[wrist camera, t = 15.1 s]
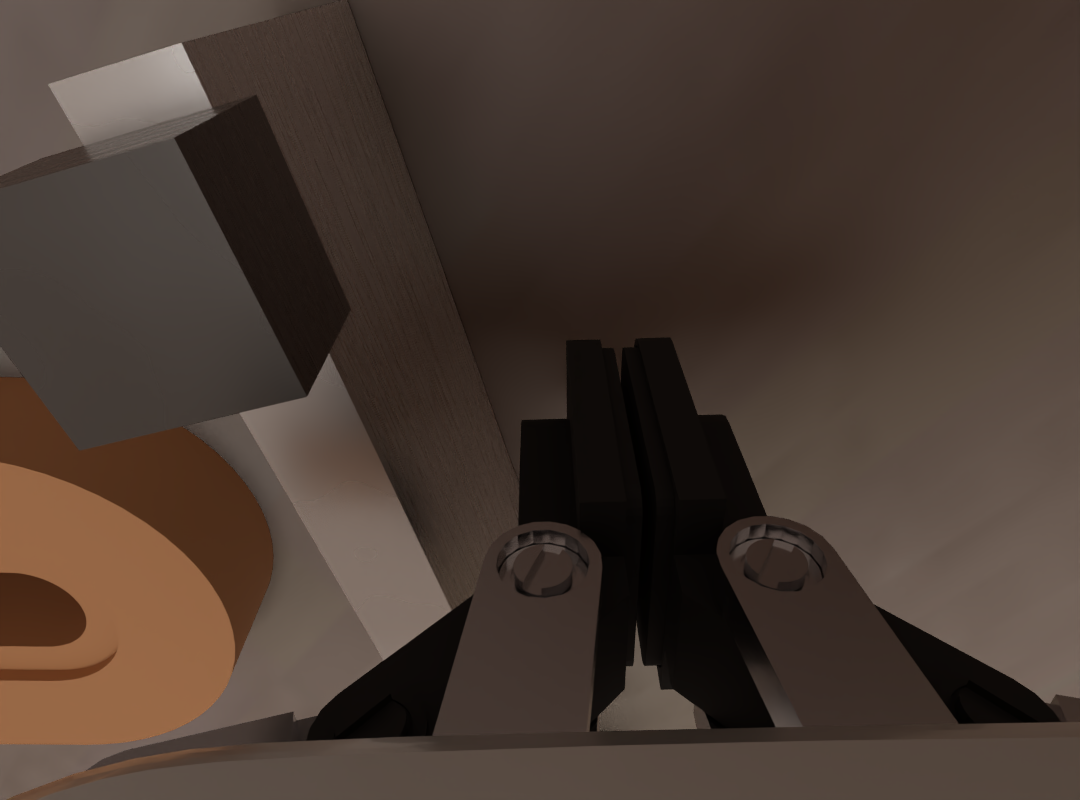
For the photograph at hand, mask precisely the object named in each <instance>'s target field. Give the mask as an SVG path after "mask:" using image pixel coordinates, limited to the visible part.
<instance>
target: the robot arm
mask: <svg viewBox="0 0 1080 800" xmlns="http://www.w3.org/2000/svg"><path fill="white" fill-rule="evenodd" d="M566 365H567V419H542V420H522V422H521V448H520V481H519V513H518V526H516V527H514V528H512V529H511V530H509V531H507V532H505V533H503V534H501V535H500V536H499V537H498V538H497V539H496V540H495V541H494V542H493V543H492V544H491V545H490V547H489V549H488V551H487V553H486V555H485V557H484V561H483V564H482V567H481V571H480V574H479V578H478V581H477V585H476V588H475V591H474V594H473V595H472V596H471V597H469V598H468V599H467V600H465V601H464V602H462V603H461V604H460V605H458V606H457V607H456V608H454V609H453V610H452V611H450V612H449V613H448V614H446V615H445V616H443V617H442V618H441V619H439V620H438V621H437V622H435V623H434V624H433V625H431V626H430V627H429V628H427V629H426V630H424V631H423V632H422V633H420V634H419V635H418V636H416V637H415V638H414V639H412V640H411V641H410V642H408V643H407V644H405V645H404V646H403V647H401V648H400V649H399V650H397V651H396V652H395V653H393V654H392V655H391V656H389V657H388V658H386V659H385V660H384V661H382V662H381V663H380V664H378V665H377V666H376V667H374V668H373V669H372V670H370V671H369V672H367V673H366V674H365V675H363V676H362V677H361V678H359V679H358V680H357V681H355V682H354V683H353V684H351V685H350V686H348V687H347V688H346V689H344V690H343V691H342V692H340V693H339V694H338V695H337V696H335V697H334V698H333V699H332V700H331V701H330V702H329V703H328V704H327V705H326V706H325V707H324V708H323V709H322V710H321V711H320V713H319V714H318V716H314V717H310V718H306V719H302V720H296V717H295V715H294V712H290V713H286V714H281V715H277V716H273V717H268V718H264V719H260V720H255V721H251V722H247V723H242V724H238V725H234V726H229V727H225V728H221V729H216V730H212V731H208V732H203V733H199V734H195V735H190V736H186V737H182V738H177V739H173V740H169V741H164V742H160V743H156V744H151V745H147V746H143V747H138V748H134V749H130V750H126V751H123V752H120V753H118V754H115V755H113V756H110V757H107V758H105V759H102V760H101V761H99V762H98V763H96V764H95V765H93V766H92V767H90V768H89V769H88V770H86V771H84V772H80V773H76V774H73V775H70V776H67V777H65V778H62V779H59V780H57V781H54V782H51V783H48V784H46V785H43V786H40V787H38V788H35V789H32V790H29V791H27V792H24V793H21V794H19V795H16V796H13V797H11V798H9V799H7V800H1080V698H1074V697H1068V696H1062V695H1055V697H1054V698H1053V700H1052V702H1051V704H1049V703H1045V702H1044V701H1042V700H1041V699H1040V698H1039V697H1038V696H1037V695H1036V694H1035V693H1034V692H1032V691H1031V690H1029V689H1028V688H1026V687H1024V686H1023V685H1021V684H1020V683H1018V682H1017V681H1015V680H1014V679H1012V678H1010V677H1008V676H1006V675H1005V674H1003V673H1001V672H999V671H997V670H995V669H993V668H992V667H990V666H988V665H986V664H984V663H982V662H980V661H978V660H977V659H975V658H973V657H971V656H969V655H967V654H965V653H964V652H962V651H960V650H958V649H956V648H954V647H952V646H951V645H949V644H947V643H945V642H943V641H941V640H939V639H937V638H936V637H934V636H932V635H930V634H928V633H926V632H924V631H923V630H921V629H919V628H917V627H915V626H913V625H911V624H909V623H908V622H906V621H904V620H902V619H900V618H898V617H896V616H895V615H893V614H891V613H889V612H887V611H885V610H883V609H882V608H880V607H878V606H876V605H874V604H873V603H872V601H871V600H870V598H869V597H868V596H867V594H866V593H865V591H864V590H863V589H862V587H861V586H860V584H859V583H858V582H857V580H856V579H855V577H854V576H853V575H852V573H851V572H850V570H849V569H848V568H847V566H846V565H845V563H844V562H843V561H842V559H841V558H840V556H839V555H838V554H837V552H836V551H835V549H834V548H833V547H832V546H831V545H830V544H829V543H828V542H827V541H826V540H825V539H824V537H823V536H821V535H820V534H818V533H817V532H815V531H814V530H812V529H810V528H809V527H807V526H805V525H802V524H800V523H797V522H795V521H792V520H790V519H784V518H779V517H773V516H767V515H766V513H765V510H764V508H763V505H762V503H761V500H760V498H759V495H758V493H757V490H756V488H755V485H754V483H753V481H752V478H751V476H750V473H749V471H748V468H747V466H746V463H745V461H744V458H743V456H742V453H741V451H740V449H739V446H738V444H737V441H736V439H735V436H734V434H733V431H732V429H731V426H730V424H729V422H728V420H727V418H726V416H724V415H698V414H697V411H696V409H695V406H694V403H693V400H692V397H691V394H690V391H689V388H688V385H687V383H686V380H685V377H684V374H683V371H682V368H681V365H680V362H679V360H678V357H677V354H676V351H675V348H674V345H673V342H672V340H671V338H638V339H636V340H635V345H634V347H630V348H623V350H622V366H621V383H620V378H619V372H618V367H617V362H616V357H615V352H614V348H602V347H601V341H600V340H568V341H567V342H566ZM636 621H637V628H638V635H639V641H640V648H641V655H642V661H643V664H644V666H651V665H657V670H658V676H659V682H660V688H661V690H664V689H674V690H675V691H677V692H678V693H679V694H681V695H682V696H684V697H685V698H686V699H688V700H689V701H690V702H692V703H693V704H694V718H695V723H696V727H697V729H682V730H639V731H598V727H599V714H600V713H601V712H602V711H603V710H604V709H605V708H606V707H607V706H608V705H609V704H610V703H611V702H612V701H613V700H614V699H615V698H616V697H617V696H618V695H619V694H620V693H621V692H622V691H623V690H624V689H625V671H626V666H633V662H634V648H635V632H636Z"/></svg>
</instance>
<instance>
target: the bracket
mask: <svg viewBox="0 0 1080 800" xmlns="http://www.w3.org/2000/svg"><path fill="white" fill-rule="evenodd" d="M272 570H273V546H272V540H271V535H270V531H269V527H268V525H267V522H266V519H265V517H264V514H263V512H262V510H261V508H260V506H259V504H258V503H257V501H256V499H255V497H254V496H253V494H252V493H251V491H250V490H249V488H248V487H247V485H246V484H245V483H244V481H243V480H242V479H241V478H240V477H239V475H238V474H237V473H236V472H235V471H234V469H233V468H232V467H231V466H230V465H229V464H228V463H227V462H226V461H225V460H224V459H223V458H222V457H221V456H220V455H219V454H218V453H216V452H215V451H214V450H213V449H212V448H210V447H209V446H208V445H207V444H206V443H204V442H203V441H202V440H201V439H199V438H198V437H196V436H195V435H193V434H192V433H191V432H189V431H188V430H186V429H185V428H183V427H178V428H173V429H169V430H165V431H161V432H157V433H152V434H148V435H144V436H140V437H135V438H131V439H127V440H123V441H118V442H114V443H110V444H106V445H102V446H97V447H93V448H89V449H85V450H80V451H79V450H78V448H77V447H76V446H75V444H74V443H73V442H72V440H71V439H70V438H69V436H68V435H67V434H66V432H65V431H64V430H63V428H62V427H61V426H60V424H59V423H58V422H57V421H56V419H55V418H54V417H53V415H52V414H51V413H50V411H49V410H48V409H47V407H46V406H45V405H44V403H43V402H42V401H41V399H40V398H39V397H38V395H37V394H36V393H35V391H34V390H33V389H32V387H31V386H30V385H29V383H28V382H27V381H26V379H25V378H16V377H0V744H81V745H88V744H111V743H122V742H129V741H135V740H141V739H145V738H149V737H153V736H157V735H160V734H163V733H166V732H169V731H171V730H174V729H176V728H178V727H180V726H183V725H185V724H187V723H189V722H190V721H192V720H193V719H195V718H197V717H198V716H200V715H201V714H202V713H203V712H205V711H206V710H207V709H208V708H209V707H211V706H212V705H213V703H214V702H215V701H216V700H217V699H218V698H219V697H220V695H221V694H222V692H223V691H224V689H225V687H226V686H227V684H228V681H229V679H230V677H231V674H232V672H233V669H234V667H235V665H236V662H237V660H238V657H239V655H240V653H241V650H242V648H243V645H244V643H245V641H246V638H247V636H248V633H249V631H250V629H251V626H252V624H253V621H254V619H255V616H256V614H257V612H258V609H259V607H260V604H261V602H262V600H263V597H264V595H265V592H266V590H267V588H268V585H269V583H270V579H271V574H272Z"/></svg>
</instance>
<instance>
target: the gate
mask: <svg viewBox="0 0 1080 800" xmlns="http://www.w3.org/2000/svg"><path fill="white" fill-rule="evenodd" d="M48 85H49V87H50V88H51V90H52V92H53V94H54V95H55V97H56V99H57V100H58V102H59V104H60V106H61V107H62V109H63V111H64V112H65V114H66V116H67V118H68V119H69V121H70V123H71V124H72V126H73V128H74V130H75V131H76V133H77V135H78V137H79V138H80V140H81V142H82V143H83V145H84V146H81V147H78V148H75V149H71V150H68V151H65V152H61V153H58V154H55V155H51V156H48V157H44V158H42V159H39V160H37V161H34V162H32V163H30V164H27V165H25V166H23V167H20V168H18V169H16V170H13V171H11V172H9V173H6V174H4V175H2V176H0V346H1V347H2V349H3V350H4V351H5V353H6V354H7V355H8V357H9V358H10V359H11V361H12V362H13V363H14V365H15V366H16V367H17V369H18V370H19V371H20V373H21V374H22V375H23V377H24V378H25V379H26V381H27V382H28V383H29V385H30V386H31V387H32V389H33V390H34V391H35V393H36V394H37V395H38V397H39V398H40V399H41V401H42V402H43V403H44V405H45V406H46V407H47V409H48V410H49V411H50V413H51V414H52V415H53V417H54V418H55V419H56V421H57V422H58V423H59V424H60V426H61V427H62V428H63V430H64V431H65V432H66V434H67V435H68V436H69V438H70V439H71V440H72V442H73V443H74V444H75V446H76V447H77V448H78V450H79V451H80V450H85V449H89V448H93V447H97V446H102V445H106V444H110V443H114V442H118V441H123V440H127V439H131V438H135V437H140V436H144V435H148V434H152V433H157V432H161V431H165V430H169V429H173V428H178V427H182V426H186V425H190V424H195V423H199V422H203V421H207V420H212V419H216V418H220V417H224V416H229V415H233V414H237V413H240V415H241V416H242V418H243V420H244V422H245V423H246V425H247V427H248V429H249V430H250V432H251V434H252V435H253V437H254V439H255V441H256V442H257V444H258V446H259V447H260V449H261V451H262V453H263V454H264V456H265V458H266V459H267V461H268V463H269V465H270V466H271V468H272V470H273V471H274V473H275V475H276V477H277V478H278V480H279V482H280V483H281V485H282V487H283V489H284V490H285V492H286V494H287V495H288V497H289V499H290V501H291V502H292V504H293V506H294V508H295V509H296V511H297V513H298V514H299V516H300V518H301V520H302V521H303V523H304V525H305V526H306V528H307V530H308V532H309V533H310V535H311V537H312V538H313V540H314V542H315V544H316V545H317V547H318V549H319V550H320V552H321V554H322V556H323V557H324V559H325V561H326V562H327V564H328V566H329V568H330V569H331V571H332V573H333V574H334V576H335V578H336V580H337V581H338V583H339V585H340V587H341V588H342V590H343V592H344V593H345V595H346V597H347V599H348V600H349V602H350V604H351V605H352V607H353V609H354V611H355V612H356V614H357V616H358V617H359V619H360V621H361V623H362V624H363V626H364V628H365V629H366V631H367V633H368V635H369V636H370V638H371V640H372V641H373V643H374V645H375V647H376V648H377V650H378V652H379V654H380V655H381V657H382V659H383V660H385V659H386V658H388V657H389V656H391V655H392V654H393V653H395V652H396V651H397V650H399V649H400V648H401V647H403V646H404V645H405V644H407V643H408V642H410V641H411V640H412V639H414V638H415V637H416V636H418V635H419V634H420V633H422V632H423V631H424V630H426V629H427V628H429V627H430V626H431V625H433V624H434V623H435V622H437V621H438V620H439V619H441V618H442V617H443V616H445V615H446V614H448V613H449V612H450V611H452V610H453V609H454V608H456V607H457V606H458V605H460V604H461V603H462V602H464V601H465V600H467V599H468V598H469V597H471V596H472V595H473V594H474V591H475V588H476V585H477V581H478V578H479V574H480V571H481V567H482V564H483V561H484V557H485V555H486V553H487V551H488V549H489V547H490V545H491V544H492V543H493V542H494V541H495V540H496V539H497V538H498V537H499V536H500V535H501V534H503V533H505V532H507V531H509V530H511V529H512V528H514V527H516V526H518V513H519V483H518V481H517V478H516V475H515V472H514V469H513V466H512V464H511V461H510V458H509V455H508V452H507V449H506V447H505V444H504V441H503V438H502V435H501V433H500V430H499V427H498V424H497V421H496V418H495V416H494V413H493V410H492V407H491V404H490V401H489V399H488V396H487V393H486V390H485V387H484V384H483V382H482V379H481V376H480V373H479V370H478V368H477V365H476V362H475V359H474V356H473V353H472V351H471V348H470V345H469V342H468V339H467V336H466V334H465V331H464V328H463V325H462V322H461V319H460V317H459V314H458V311H457V308H456V305H455V303H454V300H453V297H452V294H451V291H450V288H449V286H448V283H447V280H446V277H445V274H444V271H443V269H442V266H441V263H440V260H439V257H438V254H437V252H436V249H435V246H434V243H433V240H432V238H431V235H430V232H429V229H428V226H427V223H426V221H425V218H424V215H423V212H422V209H421V206H420V204H419V201H418V198H417V195H416V192H415V189H414V187H413V184H412V181H411V178H410V175H409V173H408V170H407V167H406V164H405V161H404V158H403V156H402V153H401V150H400V147H399V144H398V141H397V139H396V136H395V133H394V130H393V127H392V124H391V122H390V119H389V116H388V113H387V110H386V108H385V105H384V102H383V99H382V96H381V93H380V91H379V88H378V85H377V82H376V79H375V76H374V74H373V71H372V68H371V65H370V62H369V60H368V57H367V54H366V51H365V48H364V45H363V43H362V40H361V37H360V34H359V31H358V28H357V26H356V23H355V20H354V17H353V14H352V11H351V9H350V6H349V3H348V0H341V1H338V2H334V3H330V4H326V5H322V6H319V7H315V8H311V9H307V10H303V11H300V12H296V13H292V14H288V15H285V16H281V17H277V18H273V19H269V20H266V21H262V22H258V23H254V24H250V25H247V26H243V27H239V28H235V29H231V30H228V31H224V32H220V33H216V34H213V35H209V36H205V37H201V38H197V39H194V40H190V41H186V42H182V43H179V44H176V45H172V46H169V47H166V48H163V49H160V50H156V51H153V52H150V53H147V54H144V55H140V56H137V57H134V58H131V59H128V60H124V61H121V62H118V63H115V64H112V65H108V66H105V67H102V68H99V69H95V70H92V71H89V72H86V73H83V74H79V75H76V76H73V77H70V78H67V79H63V80H60V81H57V82H54V83H51V84H48ZM598 731H600V723H599V727H598Z"/></svg>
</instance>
